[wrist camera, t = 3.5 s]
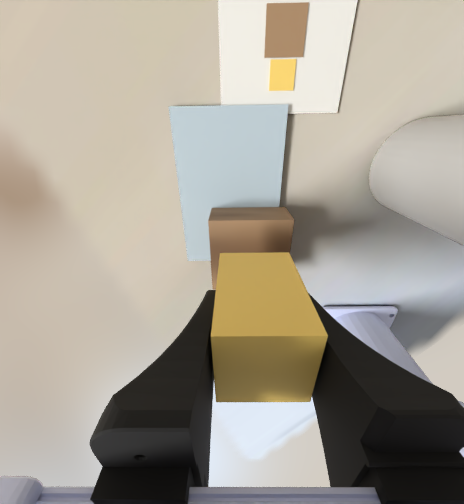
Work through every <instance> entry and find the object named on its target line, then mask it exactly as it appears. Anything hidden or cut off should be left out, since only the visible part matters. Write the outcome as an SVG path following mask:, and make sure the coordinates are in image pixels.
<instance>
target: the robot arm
mask: <svg viewBox="0 0 464 504" xmlns="http://www.w3.org/2000/svg"><path fill="white" fill-rule="evenodd" d="M215 293H216V290H208V291H207V292H206V295H205V297H204V299H203V301H202V302H201V304H200V306H199V308H198V309H197V311H196V312H195V314H194V315H193V317H192V318H191V320H190V321H189V323H188V324H187V325H186V327H185V328H184V330H183V331H182V332H181V333H180V335H179V336H178V337H177V338H176V339H175V341H174V342H173V343H172V344H171V345H170V346H169V347H168V348H167V349H166V350H165V351H164V352H163V354H162V355H161V356H160V357H159V358H158V359H157V360H156V361H154V362H153V363H152V364H151V365H150V366H149V367H148V368H147V369H146V370H144V371H143V372H142V373H141V374H140V375H139V376H138V377H136V378H135V379H134V380H133V381H131V382H130V383H129V384H127V385H126V386H125V387H123V388H122V389H121V390H120V391H118V392H117V393H116V394H114V395H113V396H112V398H111V400H110V402H109V403H108V405H107V406H106V408H105V410H104V412H103V413H102V416H101V418H100V420H99V422H98V424H97V426H96V429H95V431H94V433H93V435H92V437H91V439H90V446H91V449H92V451H93V453H94V455H95V456H96V457H97V459H98V460H99V462H100V463H101V465H102V466H103V467H102V470H101V472H100V475H99V478H98V480H97V483H96V485H95V487H43V484H42V483H41V482H40V481H39V480H38V479H36V478H32V477H28V476H0V504H464V403H463V402H460V401H458V400H457V399H456V398H455V397H454V396H453V395H452V394H451V393H449V392H447V391H445V390H443V389H441V388H439V387H437V386H435V385H433V384H432V382H431V381H430V380H429V379H428V377H427V376H426V375H425V374H424V372H423V371H422V370H421V368H420V367H419V366H418V365H417V363H416V362H415V361H414V360H413V358H412V357H411V356H410V355H409V353H408V352H407V351H406V349H405V348H404V347H403V346H402V344H401V343H400V342H399V341H398V339H397V338H396V337H395V336H394V334H393V333H392V332H391V331H390V328H391V325H392V323H393V321H394V319H395V317H396V314H397V312H398V309H397V308H396V307H394V306H345V307H322V306H321V305H320V304H319V303H318V302H317V301H316V300H315V299H314V298H313V297H312V296H311V295H310V294H309V293H308V294H309V296H310V298H311V301H312V303H313V305H314V307H315V309H316V311H317V313H318V316H319V318H320V320H321V322H322V324H323V326H324V328H325V331H326V333H327V335H328V338H327V341H326V345H325V349H324V352H323V356H322V360H321V363H320V367H319V371H318V374H317V378H316V382H315V386H314V389H313V393H312V397H313V402H314V406H315V410H316V415H317V419H318V424H319V428H320V434H321V438H322V443H323V448H324V453H325V459H326V464H327V469H328V475H329V480H330V486H331V487H208V480H209V456H210V435H211V417H212V399H213V383H214V370H213V358H212V346H211V329H212V320H213V311H214V302H215Z"/></svg>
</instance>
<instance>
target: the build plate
mask: <svg viewBox="0 0 464 504" xmlns="http://www.w3.org/2000/svg"><path fill="white" fill-rule="evenodd" d="M169 113H170V121H171V129H172V137H173V145H174V153H175V161H176V169H177V177H178V185H179V193H180V201H181V209H182V217H183V225H184V233H185V241H186V249H187V257H188V261H211V256H210V241H209V226H208V219H209V216H210V212H211V209H212V208H242V207H279V204H280V193H281V182H282V171H283V160H284V148H285V137H286V126H287V115H288V104H282V105H221V106H169Z"/></svg>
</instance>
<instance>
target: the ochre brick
mask: <svg viewBox="0 0 464 504" xmlns="http://www.w3.org/2000/svg"><path fill="white" fill-rule="evenodd" d="M327 338H328V335H327V333H326V331H325V328H324V326H323V324H322V322H321V320H320V318H319V316H318V313H317V311H316V309H315V307H314V305H313V303H312V301H311V298H310V296H309V294H308V292H307V290H306V288H305V286H304V283H303V281H302V279H301V277H300V275H299V273H298V271H297V268H296V266H295V264H294V262H293V260H292V258H291V256H290V253H289V252H278V253H220V257H219V266H218V275H217V284H216V293H215V302H214V311H213V320H212V329H211V346H212V358H213V370H214V382H215V394H216V402H310V400H311V397H312V393H313V389H314V386H315V382H316V378H317V374H318V371H319V367H320V363H321V360H322V356H323V352H324V349H325V345H326V341H327Z"/></svg>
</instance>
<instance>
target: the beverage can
mask: <svg viewBox="0 0 464 504" xmlns="http://www.w3.org/2000/svg"><path fill="white" fill-rule="evenodd" d="M369 187H370V190H371V193H372V195H373V197H374V198H375V199H376V200H377V201H378V202H379V203H380V204H381V205H383V206H385V207H387V208H389V209H391V210H393V211H395V212H397V213H399V214H401V215H403V216H405V217H407V218H409V219H411V220H413V221H415V222H417V223H419V224H421V225H423V226H425V227H427V228H429V229H431V230H433V231H435V232H437V233H439V234H441V235H443V236H445V237H447V238H449V239H451V240H453V241H455V242H457V243H459V244H461V245H463V246H464V114H463V115H449V116H435V117H426V118H421V119H418V120H415V121H412V122H410V123H408V124H406V125H404V126H402V127H401V128H399V129H398V130H397V131H395V132H394V133H393V134H392V135H391V136H390V137H388V138H387V139H386V141H385V142H384V143H383V144H382V145H381V147H380V148H379V150H378V151H377V153H376V155H375V157H374V159H373V161H372V164H371V167H370V171H369Z"/></svg>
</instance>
